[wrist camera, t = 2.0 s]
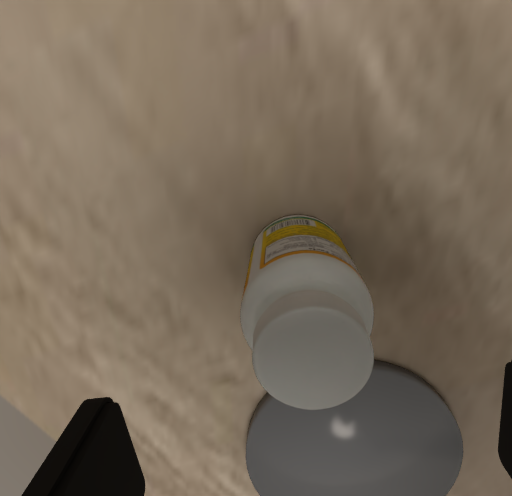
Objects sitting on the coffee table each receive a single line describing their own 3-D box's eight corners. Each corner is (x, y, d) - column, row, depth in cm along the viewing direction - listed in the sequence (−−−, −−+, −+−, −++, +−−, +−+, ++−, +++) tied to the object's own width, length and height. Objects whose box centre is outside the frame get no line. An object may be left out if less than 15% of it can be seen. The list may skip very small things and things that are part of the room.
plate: (456, 347, 22) (466, 359, 21) (452, 512, 27) (460, 529, 25) (231, 369, 24) (229, 381, 22) (262, 523, 28) (261, 540, 27)
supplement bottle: (288, 193, 20) (301, 251, 11) (363, 250, 21) (434, 349, 12) (231, 267, 21) (200, 372, 12) (303, 317, 22) (324, 450, 13)
